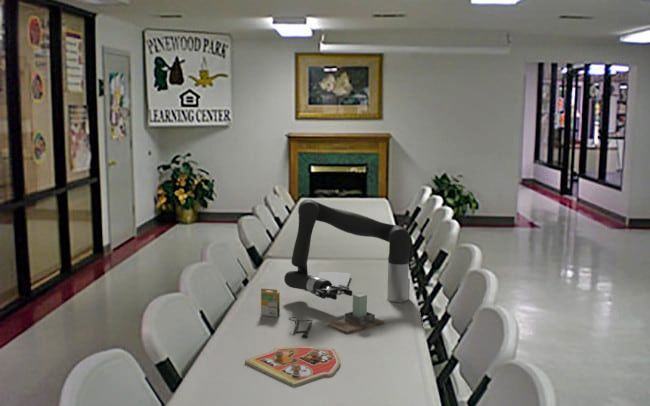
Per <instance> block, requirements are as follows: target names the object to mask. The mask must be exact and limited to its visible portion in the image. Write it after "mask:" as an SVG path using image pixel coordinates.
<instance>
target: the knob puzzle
mask: <svg viewBox="0 0 650 406" xmlns="http://www.w3.org/2000/svg"><path fill="white" fill-rule="evenodd" d="M244 364H245V365H246V366H249V367H251V368H253V369H255V370H257V371H259V372H262V373H263V374H266V375H267V376H270V377H272V378H274V379H276V380H278V381H280V382H282V383H285V384H287V385H289V386H291V387H293V388H295V387H299V386H301V385H304V384H306V383H309V382H313V381H315V380H319V379H321V378H322V379H323V378H331V377H333V376H334V375H335V373H336V372H337V371H338V369H339V368H340V367H341V359H340V356H339V355H338V352H337V351H336V350H335V349H333V348H326V347H318V346H317V347H316V346H306V345H299V346H297V345H296V346H284V347H282V346H281V347H276V348H273V350H272V351H271V350H270V351H268V352H265V353H262V354H258V355H256V356H253V357H250V358H247V359H245V360H244Z"/></svg>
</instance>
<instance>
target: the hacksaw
mask: <svg viewBox="0 0 650 406" xmlns="http://www.w3.org/2000/svg"><path fill="white" fill-rule="evenodd" d="M292 318H293V319H292ZM294 319H296V320H294ZM288 320H289V321H293V322H295V323H294V324H295V327H294V330H293V333H292V334H293V335H296V334H301V333H303V334H302V335H301V338H302V339H307V338H308V334H309V332H310V330H311V327H312V324H313V320H311V319H309V320H308V319H306V320H303V322H309V323H308V324H307V327H306V330H299V327H298V326H300V322H301V319H300V320H299V318H297V317H296V316H295V317H293V316H292V317H288ZM298 330H299V331H298ZM289 335H291V332H289Z"/></svg>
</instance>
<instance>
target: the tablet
mask: <svg viewBox="0 0 650 406" xmlns="http://www.w3.org/2000/svg"><path fill="white" fill-rule="evenodd" d="M351 276H352V274H351V273H349V272H337V271H335V272H331V271H321V272H318V274H317V276H316V277H319V278H322V279H325V280H328V281H330V282H331V284H332V285H335V286H339V284H340V285H344V286H347V287H348V285H349V282H350V280H351Z"/></svg>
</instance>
